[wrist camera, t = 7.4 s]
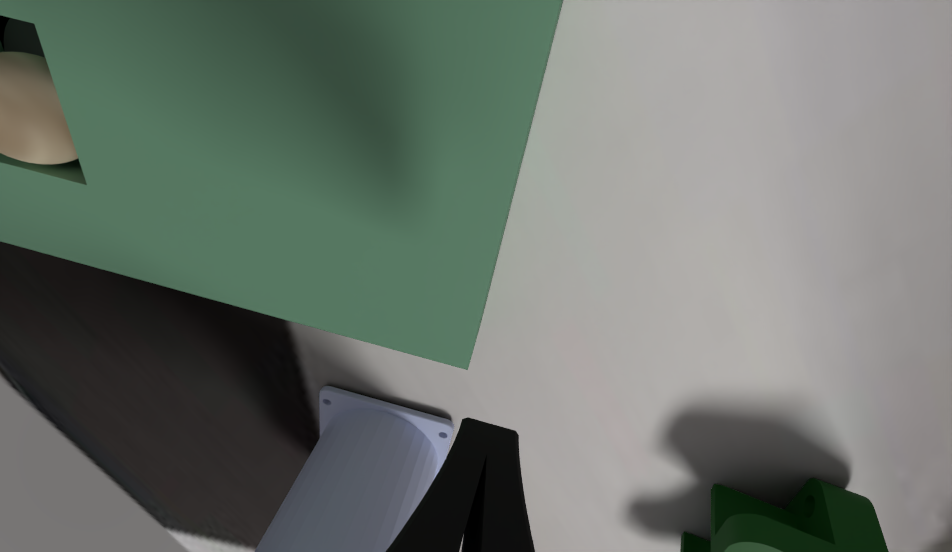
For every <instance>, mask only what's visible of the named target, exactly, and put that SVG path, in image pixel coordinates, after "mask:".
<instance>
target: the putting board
mask: <svg viewBox="0 0 952 552" xmlns="http://www.w3.org/2000/svg"><path fill="white" fill-rule="evenodd" d="M562 3H563V0H0V15H1V16H6V17H10V19H9V20H8V22H7V24H6V27H5V31H4V41H3V42H4V49H3V46H2V44H1V41H0V52H4V51H5V52H24V53H29V54H34V55H38V56H41V57H44V58H46V61H47V64H48V67H49V70H50V73H51V76H52V79H53V82H54V85H55V88H56V91H57V95H58V98H59V101H60V104H61V107H62V110H63V113H64V116H65V119H66V122H67V125H68V128H69V131H70V134H71V137H72V140H73V143H74V147H75V150H76V153H77V156H78V159H76V160H73V161H70V162H66V163H61V164H35V163H28V162H24V161H20V160H17V159H14V158H11V157H8V156H6V155H4V154H2V153H0V241H2V242H5V243H9V244H13V245H16V246H20V247H24V248H27V249H31V250H34V251H38V252H42V253H45V254H49V255H53V256H56V257H60V258H63V259H67V260H71V261H74V262H78V263H82V264H85V265H89V266H92V267H96V268H100V269H103V270H107V271H111V272H114V273H118V274H121V275H125V276H129V277H132V278H136V279H140V280H143V281H147V282H150V283H154V284H158V285H161V286H165V287H169V288H172V289H176V290H179V291H183V292H187V293H190V294H194V295H198V296H201V297H205V298H208V299H212V300H216V301H219V302H223V303H227V304H230V305H234V306H237V307H241V308H245V309H248V310H252V311H256V312H259V313H263V314H267V315H270V316H274V317H277V318H281V319H285V320H288V321H292V322H296V323H299V324H303V325H306V326H310V327H314V328H317V329H321V330H325V331H328V332H332V333H335V334H339V335H343V336H346V337H350V338H354V339H357V340H361V341H364V342H368V343H372V344H375V345H379V346H383V347H386V348H390V349H393V350H397V351H401V352H404V353H408V354H412V355H415V356H419V357H422V358H426V359H430V360H433V361H437V362H441V363H444V364H448V365H451V366H455V367H459V368H462V369H466V370H468V367H469V363H470V360H471V356H472V353H473V349H474V346H475V342H476V338H477V335H478V331H479V328H480V324H481V320H482V316H483V312H484V308H485V304H486V301H487V297H488V293H489V289H490V285H491V281H492V277H493V273H494V269H495V265H496V261H497V257H498V254H499V250H500V246H501V242H502V238H503V234H504V230H505V226H506V222H507V218H508V214H509V210H510V207H511V203H512V199H513V195H514V191H515V187H516V183H517V179H518V175H519V171H520V167H521V163H522V160H523V156H524V152H525V148H526V144H527V140H528V136H529V132H530V128H531V124H532V120H533V116H534V113H535V109H536V105H537V101H538V97H539V93H540V89H541V85H542V81H543V77H544V73H545V69H546V66H547V62H548V58H549V54H550V50H551V46H552V42H553V38H554V34H555V30H556V26H557V22H558V19H559V15H560V11H561V7H562Z"/></svg>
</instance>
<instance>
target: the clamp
mask: <svg viewBox="0 0 952 552" xmlns="http://www.w3.org/2000/svg"><path fill="white" fill-rule="evenodd" d="M681 552H888V549H887V546H886V543H885V539H884V536H883V533H882V530H881V527H880V524H879V521H878V518H877V515H876V512H875V509H874V507H873V505H872V503H871V502H870V500H869V499H867V498H866V497H864V496H861V495H858V494H856V493H853V492H850V491H848V490H845V489H842V488H840V487H837V486H834V485H831V484H829V483H826V482H823V481H821V480H818V479H815V478H810V479H809V480H808V481H807V483H806V484H805V485H804V486H803V487H802V489H801V490H800V491H799V492H798V494H797V495H796V496H795V497H794V498H793V500H792V501H791V502H790V503H789V504H788V506H787V507H786V508H785V509H781V508H779V507H776V506H774V505H771V504H769V503H766V502H764V501H761V500H759V499H756V498H754V497H751V496H749V495H746V494H744V493H741V492H739V491H736V490H734V489H731V488H729V487H726V486H723V485H718V484H714V485H713V487H712V489H711V541H708V540H705V539H702V538H699V537H697V536H695V535H693V534H690V533H687V532H685V531H684V533H683V534H682V536H681Z"/></svg>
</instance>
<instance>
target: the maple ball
mask: <svg viewBox="0 0 952 552" xmlns="http://www.w3.org/2000/svg"><path fill="white" fill-rule="evenodd" d="M0 153H2V154H4V155H6V156H8V157H11V158H14V159H17V160H20V161H24V162H28V163H35V164H61V163H66V162H70V161H73V160H76V159H78V156H77V153H76V150H75V147H74V143H73V140H72V137H71V134H70V131H69V128H68V125H67V122H66V119H65V116H64V113H63V110H62V107H61V104H60V101H59V98H58V95H57V91H56V88H55V85H54V82H53V79H52V76H51V73H50V70H49V67H48V64H47V61H46V58H44V57H41V56H38V55H34V54H29V53H24V52H0Z"/></svg>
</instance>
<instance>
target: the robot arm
mask: <svg viewBox="0 0 952 552" xmlns="http://www.w3.org/2000/svg"><path fill="white" fill-rule="evenodd" d="M319 418H320V439H319V440H318V442H317V444H316V446H315V447H314V449H313V451H312V453H311V454H310V456H309V458H308V460H307V461H306V463H305V465H304V467H303V468H302V470H301V472H300V473H299V475H298V477H297V479H296V480H295V482H294V484H293V486H292V487H291V489H290V491H289V493H288V494H287V496H286V498H285V500H284V501H283V503H282V505H281V507H280V508H279V510H278V512H277V514H276V515H275V517H274V519H273V520H272V522H271V524H270V526H269V527H268V529H267V531H266V533H265V534H264V536H263V538H262V540H261V541H260V543H259V545H258V547H257V548H256V550H255V552H459V550H460V546H461V542H462V538H463V544H462V552H535V549H534V545H533V540H532V536H531V530H530V525H529V520H528V515H527V509H526V504H525V498H524V491H523V484H522V477H521V468H520V458H519V435H518V434H517V432H516V431H514V430H510V429H507V428H503V427H500V426H496V425H493V424H489V423H486V422H482V421H478V420H475V419H471V418H465V419H462V422H461V426H460V429H459V431H458V434H457V436H456V439H455V441H454V443H453V445H452V447H451V450H450V452H449V454H448V455H447V453H448V449H449V445H450V441H451V437H452V433H453V429H454V424H453V423H452V422H451V421H450V420H448V419H445V418H441V417H438V416H434V415H431V414H427V413H423V412H420V411H416V410H413V409H409V408H406V407H402V406H399V405H395V404H392V403H388V402H385V401H381V400H377V399H374V398H370V397H367V396H363V395H360V394H356V393H353V392H349V391H346V390H342V389H338V388H335V387H331V386H324V387H322V389H321V390H320V392H319ZM463 534H464V537H463Z"/></svg>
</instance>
